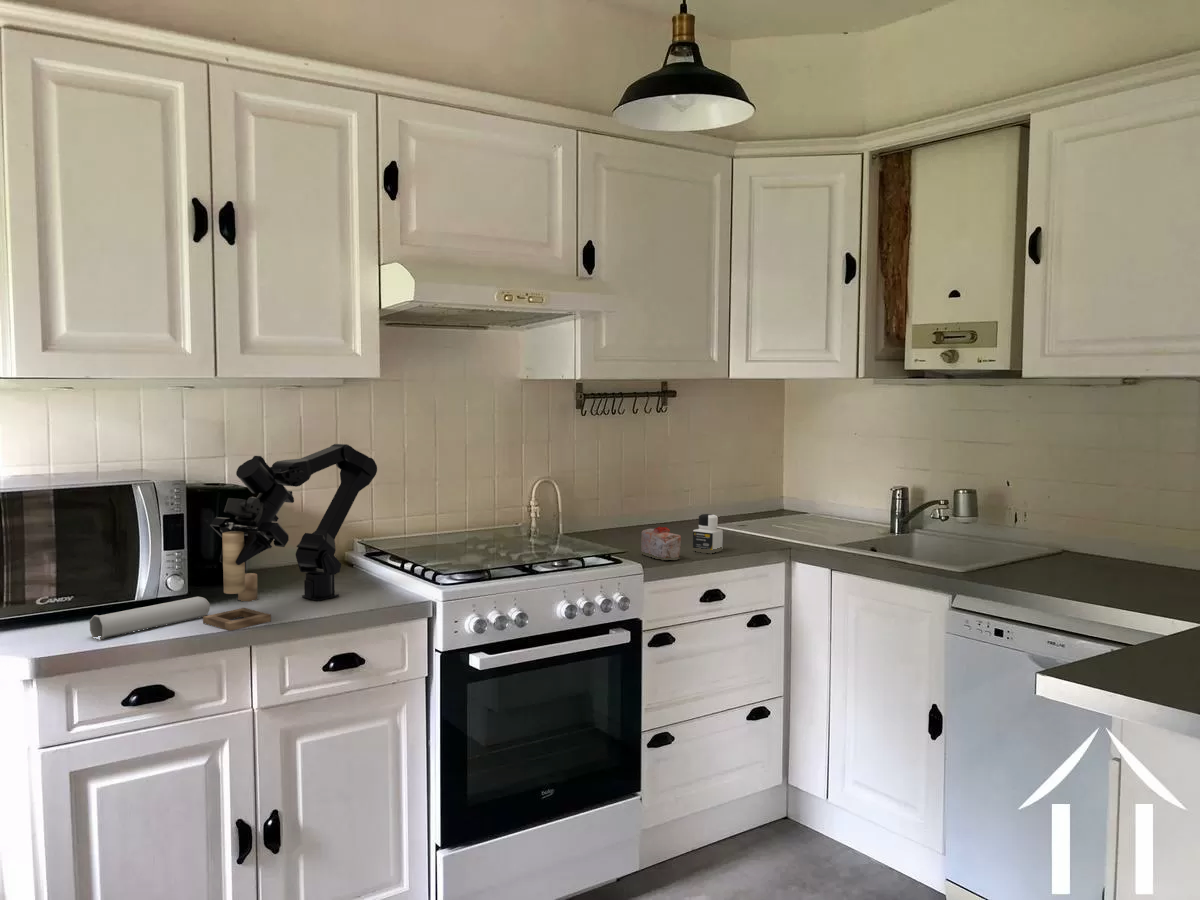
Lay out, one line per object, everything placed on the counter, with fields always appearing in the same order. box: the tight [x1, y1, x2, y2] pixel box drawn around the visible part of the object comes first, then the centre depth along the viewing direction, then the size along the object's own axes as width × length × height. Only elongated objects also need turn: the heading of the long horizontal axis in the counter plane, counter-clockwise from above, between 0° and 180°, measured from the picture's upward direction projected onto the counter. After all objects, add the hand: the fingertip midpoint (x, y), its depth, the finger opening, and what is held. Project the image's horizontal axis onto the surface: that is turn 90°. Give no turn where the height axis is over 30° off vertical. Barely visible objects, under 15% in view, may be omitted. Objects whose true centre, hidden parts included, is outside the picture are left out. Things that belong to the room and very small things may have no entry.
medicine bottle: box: [692, 513, 724, 550], centre depth 293 cm, size 7×7×12 cm
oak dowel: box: [221, 531, 246, 595], centre depth 201 cm, size 4×4×13 cm
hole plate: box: [202, 607, 272, 632], centre depth 202 cm, size 10×10×2 cm
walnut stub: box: [237, 572, 259, 602], centre depth 223 cm, size 4×4×6 cm
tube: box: [89, 596, 211, 640], centre depth 198 cm, size 5×5×25 cm
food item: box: [640, 525, 682, 559], centre depth 282 cm, size 14×8×10 cm, turn 34°
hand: (229, 562), depth 200 cm, fingers closed on oak dowel, 4 cm apart
